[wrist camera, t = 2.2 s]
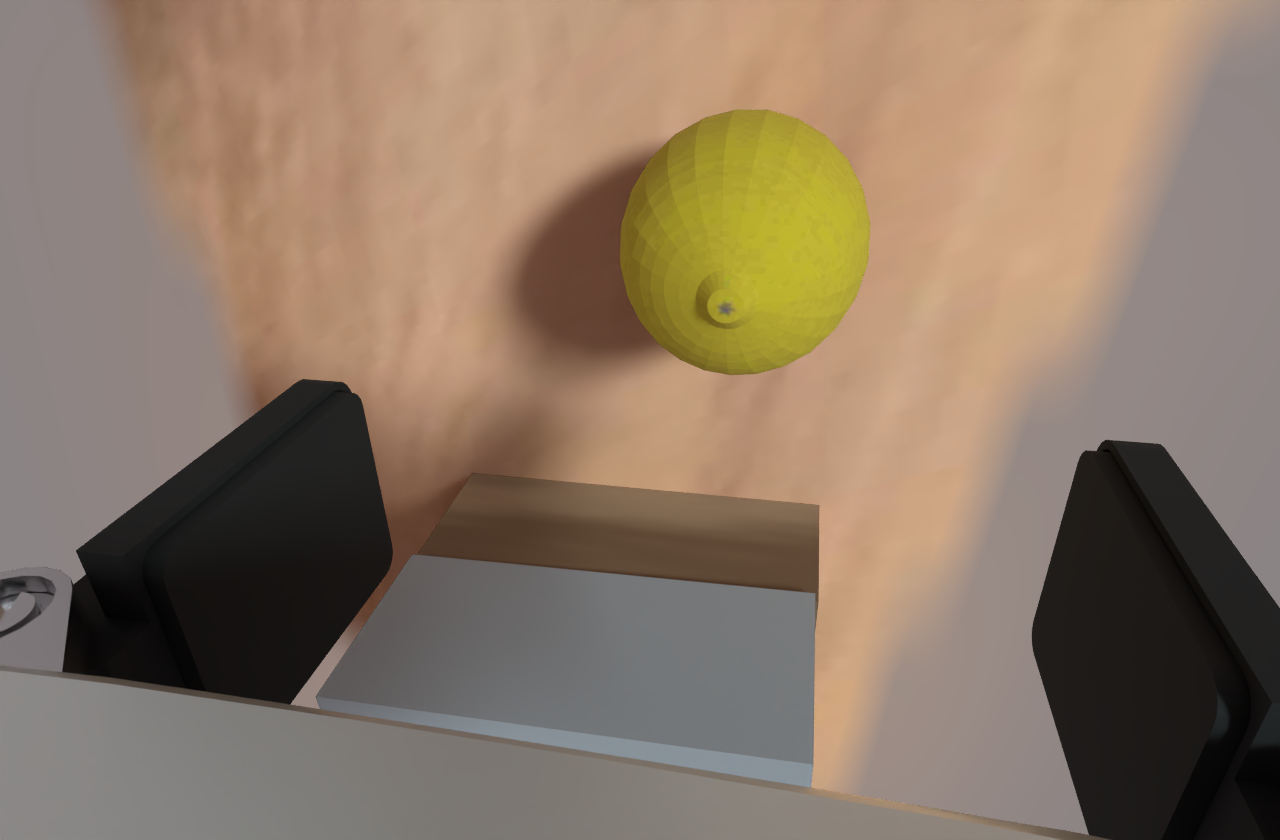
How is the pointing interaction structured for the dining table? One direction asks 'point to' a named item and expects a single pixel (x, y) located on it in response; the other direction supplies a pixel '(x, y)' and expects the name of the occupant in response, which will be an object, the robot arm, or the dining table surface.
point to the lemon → (744, 242)
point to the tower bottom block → (632, 532)
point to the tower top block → (592, 664)
